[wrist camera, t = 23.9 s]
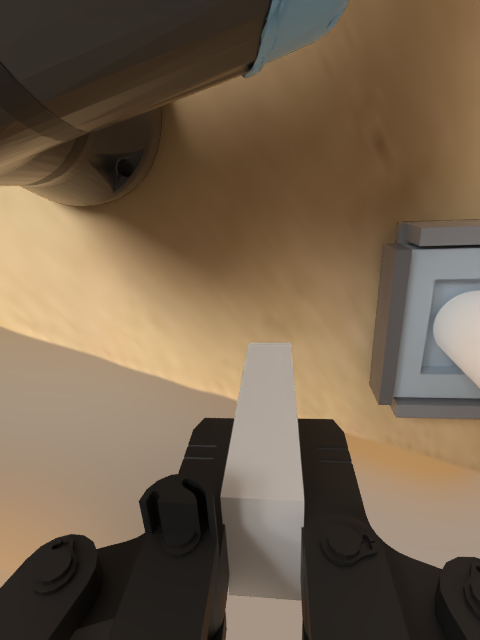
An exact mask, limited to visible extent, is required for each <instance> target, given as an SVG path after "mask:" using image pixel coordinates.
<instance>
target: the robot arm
mask: <svg viewBox="0 0 480 640" xmlns="http://www.w3.org/2000/svg"><path fill="white" fill-rule="evenodd" d="M349 1H350V0H0V186H21V187H23V188H25V189H27V190H29V191H31V192H33V193H35V194H37V195H39V196H42V197H44V198H46V199H48V200H51V201H54V202H57V203H61V204H66V205H72V206H89V205H98V204H104V203H108V202H112V201H114V200H117V199H119V198H121V197H123V196H124V195H126V194H128V193H129V192H130V191H132V190H133V189H134V188H135V187H136V186H137V185H138V184H139V183H140V182H141V181H142V179H143V178H144V177H145V175H146V174H147V172H148V171H149V169H150V167H151V165H152V163H153V161H154V158H155V156H156V153H157V149H158V145H159V141H160V134H161V106H163V105H166V104H168V103H171V102H173V101H176V100H179V99H181V98H184V97H186V96H189V95H192V94H194V93H197V92H199V91H202V90H205V89H207V88H210V87H212V86H215V85H218V84H220V83H223V82H225V81H228V80H230V79H233V78H236V77H238V76H241V75H242V76H243V77H244V78H248V77H251V76H254V75H255V74H257V73H258V72H259V71H260V70H261V68H262V67H263V66H264V65H265V64H267V63H269V62H271V61H274V60H276V59H278V58H280V57H282V56H284V55H287V54H289V53H291V52H293V51H296V50H298V49H300V48H302V47H304V46H307V45H309V44H311V43H313V42H315V41H317V40H318V39H320V38H321V37H323V36H324V35H325V34H327V33H328V32H329V31H330V30H331V29H332V28H333V26H334V25H335V24H336V23H337V21H338V19H339V18H340V16H341V15H342V13H343V12H344V10H345V9H346V7H347V4H348V2H349ZM139 504H140V509H141V514H142V518H143V523H144V528H145V533H144V534H142V535H141V536H139V537H138V538H134V539H132V540H129V541H126V542H122V543H118V544H115V545H111V546H107V547H103V548H99V549H96V547H95V545H94V542H93V541H91V540H90V539H88V538H87V537H86V536H84V535H74V534H70V535H67V536H62V537H58V538H55V539H54V540H52V541H50V542H48V543H46V544H45V545H43V546H41V547H40V548H39V549H38V550H36V551H35V552H34V553H33V554H32V555H31V556H30V557H28V558H27V559H26V560H25V561H24V563H23V564H22V565H21V566H20V567H19V568H18V569H17V570H16V572H15V573H14V574H13V575H12V576H11V577H10V578H9V579H8V580H7V581H6V582H5V584H4V585H3V586H2V587H1V588H0V640H225V639H226V630H227V628H226V613H225V608H226V600H227V592H228V586H229V595H237V596H250V597H263V598H276V599H289V600H301V601H302V615H303V624H302V625H303V626H302V640H480V559H479V558H476V557H457V558H455V559H453V560H451V561H448V562H446V564H445V566H444V568H443V569H440V568H437V567H434V566H431V565H429V564H426V563H423V562H421V561H418V560H415V559H412V558H410V557H408V556H405V555H403V554H401V553H399V552H397V551H396V550H394V549H393V548H391V547H390V546H388V545H387V544H386V543H385V542H383V540H382V539H381V538H379V537H378V535H376V533H375V532H374V530H373V529H372V527H371V526H370V524H369V522H368V519H367V516H366V513H365V510H364V506H363V502H362V498H361V495H360V491H359V488H358V483H357V479H356V476H355V472H354V468H353V465H352V463H351V457H350V453H349V451H348V446H347V442H346V439H345V434H344V432H343V431H342V430H341V428H340V427H339V426H338V425H337V424H336V423H335V422H334V420H333V419H297V408H296V396H295V384H294V372H293V360H292V349H291V343H248V347H247V353H246V358H245V364H244V369H243V375H242V380H241V386H240V391H239V397H238V402H237V408H236V414H235V419H230V418H204V419H203V420H202V421H201V422H200V423H199V424H198V425H197V427H196V428H195V429H194V430H193V432H192V435H191V438H190V441H189V446H188V447H187V450H186V453H185V456H184V459H183V462H182V465H181V467H180V470H179V474H175V475H170V476H168V477H165V478H163V479H161V480H158V481H157V482H156V483H154V484H153V485H152V486H150V487H149V488H148V489H147V490H146V491H145V493H144V495H143V496H142V497H141V499H140V500H139Z"/></svg>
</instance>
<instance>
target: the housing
mask: <svg viewBox="0 0 480 640" xmlns="http://www.w3.org/2000/svg"><path fill="white" fill-rule="evenodd" d="M396 242H398V243H400V244H402V245H406V244H416V245H418V246H444V245H478V244H480V219H469V220H442V221H415V222H398V226H397V235H396ZM390 407H391V409H392V411H393V413H394V415H395V416H396V417H402V418H447V419H480V398H419V397H393V401H392V405H390Z"/></svg>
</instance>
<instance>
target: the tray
mask: <svg viewBox="0 0 480 640" xmlns="http://www.w3.org/2000/svg"><path fill="white" fill-rule="evenodd" d="M477 290H480V244H478V245H444V246H418V245H416V244H406V245H402V244H400V243H398V242H396V243H383V251H382V261H381V271H380V281H379V291H378V301H377V311H376V321H375V331H374V341H373V351H372V361H371V371H370V381H369V385H370V387H371V389H372V391H373V394H374V396H375V398H376V400H377V402H378V405H392V401H393V397H419V398H480V388H479V387H478V386H477V385H476V384H475V383H474V382H473V381H472V380H471V379H470V378H469V377H468V376H467V375H466V374H465V373H464V372H463V371H462V370H461V369H460V368H459V367H458V366H457V365H456V364H455V363H454V362H453V361H452V360H451V359H450V358H449V357H448V356H447V355H446V354H445V352H444V351H443V350H442V349H441V348H440V347H439V346H438V345H437V343H436V341H435V339H434V335H433V324H434V321H435V318H436V316H437V314H438V312H439V311H440V309H441V308H442V307H443V306H444V305H445V304H446V303H447V302H448V301H449V300H451V299H452V298H454V297H456V296H458V295H460V294H462V293H465V292H469V291H477Z"/></svg>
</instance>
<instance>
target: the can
mask: <svg viewBox="0 0 480 640" xmlns="http://www.w3.org/2000/svg"><path fill="white" fill-rule="evenodd" d="M433 335H434V339H435V341H436V343H437V345H438V346H439V347H440V348H441V349H442V350H443V351H444V352H445V354H446V355H447V356H448V357H449V358H450V359H451V360H452V361H453V362H454V363H455V364H456V365H457V366H458V367H459V368H460V369H461V370H462V371H463V372H464V373H465V374H466V375H467V376H468V377H469V378H470V379H471V380H472V381H473V382H474V383H475V384H476V385H477V386H478V387H479V388H480V290H477V291H469V292H465V293H462V294H460V295H458V296H456V297H454V298H452V299H451V300H449V301H448V302H447V303H446V304H445V305H444V306H443V307H442V308H441V309H440V311H439V312H438V314H437V316H436V318H435V321H434V324H433Z"/></svg>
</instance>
